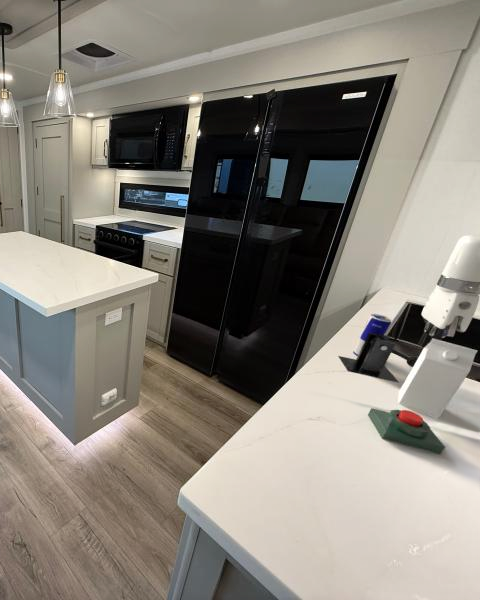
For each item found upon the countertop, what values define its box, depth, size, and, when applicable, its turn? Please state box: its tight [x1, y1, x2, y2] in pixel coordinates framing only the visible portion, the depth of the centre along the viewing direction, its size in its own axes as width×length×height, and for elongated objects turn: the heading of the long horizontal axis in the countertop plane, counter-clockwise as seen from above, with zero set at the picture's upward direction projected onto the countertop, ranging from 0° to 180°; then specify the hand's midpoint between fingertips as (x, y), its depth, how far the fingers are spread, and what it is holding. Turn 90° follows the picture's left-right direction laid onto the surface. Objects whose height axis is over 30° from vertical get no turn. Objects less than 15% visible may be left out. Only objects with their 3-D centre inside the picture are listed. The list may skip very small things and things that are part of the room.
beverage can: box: [352, 313, 393, 357], centre depth 97 cm, size 5×5×15 cm
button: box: [398, 409, 424, 428], centre depth 69 cm, size 4×4×2 cm
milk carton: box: [397, 339, 478, 419], centre depth 76 cm, size 7×7×19 cm
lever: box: [370, 336, 419, 368], centre depth 89 cm, size 13×3×3 cm, turn 67°
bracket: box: [337, 333, 400, 384], centre depth 91 cm, size 12×9×12 cm
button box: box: [367, 407, 446, 455], centre depth 70 cm, size 10×8×4 cm
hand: (426, 347), depth 85 cm, fingers closed
